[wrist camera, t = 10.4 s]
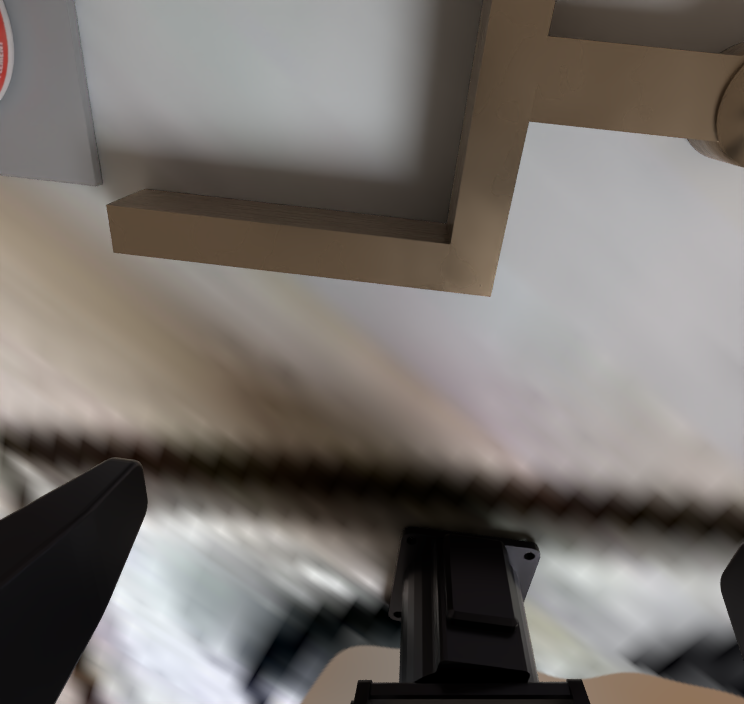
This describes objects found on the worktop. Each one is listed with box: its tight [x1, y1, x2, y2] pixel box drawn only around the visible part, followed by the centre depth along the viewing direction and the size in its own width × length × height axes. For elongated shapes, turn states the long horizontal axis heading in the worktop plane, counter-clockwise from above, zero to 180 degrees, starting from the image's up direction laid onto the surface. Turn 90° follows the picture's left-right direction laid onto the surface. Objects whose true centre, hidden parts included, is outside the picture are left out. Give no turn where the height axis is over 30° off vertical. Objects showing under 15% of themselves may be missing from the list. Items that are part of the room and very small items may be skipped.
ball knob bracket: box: [106, 0, 744, 297], centre depth 14 cm, size 12×20×2 cm, turn 85°
